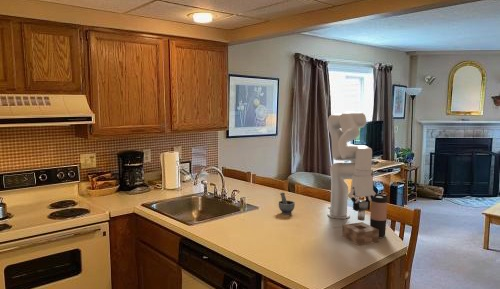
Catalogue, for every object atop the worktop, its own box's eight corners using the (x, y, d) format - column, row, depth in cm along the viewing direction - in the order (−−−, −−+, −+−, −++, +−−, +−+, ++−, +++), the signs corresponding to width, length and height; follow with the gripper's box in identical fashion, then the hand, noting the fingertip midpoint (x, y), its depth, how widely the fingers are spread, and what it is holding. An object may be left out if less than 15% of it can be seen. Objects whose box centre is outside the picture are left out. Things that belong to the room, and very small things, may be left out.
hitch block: (342, 236, 179) (342, 224, 178) (362, 233, 183) (362, 222, 183) (357, 245, 168) (358, 232, 167) (378, 241, 172) (379, 229, 172)
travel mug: (366, 233, 184) (368, 195, 182) (378, 231, 186) (380, 193, 184) (376, 238, 177) (378, 198, 174) (388, 236, 179) (391, 197, 177)
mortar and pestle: (297, 215, 214) (298, 195, 212) (284, 217, 209) (284, 196, 208) (287, 210, 224) (287, 191, 222) (274, 211, 219) (274, 192, 218)
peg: (352, 218, 176) (352, 200, 175) (362, 217, 178) (362, 199, 177) (359, 222, 170) (360, 203, 170) (370, 220, 173) (371, 202, 172)
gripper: (372, 170, 179) (370, 206, 180) (343, 172, 172) (341, 209, 174) (382, 173, 172) (381, 210, 174) (352, 175, 166) (351, 213, 167)
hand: (361, 209), depth 174 cm, fingers closed on peg, 6 cm apart
